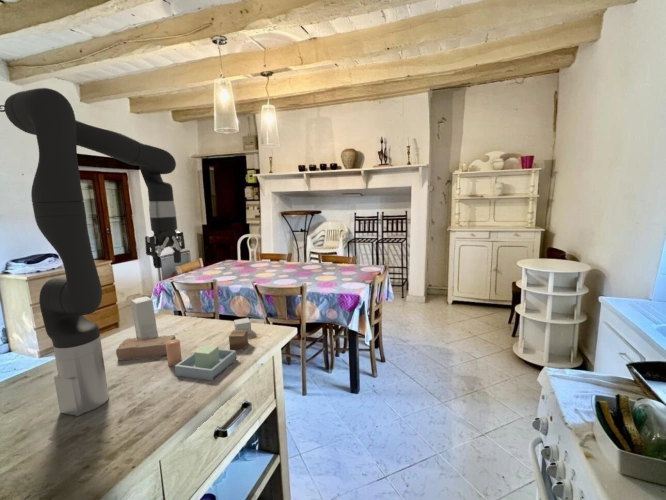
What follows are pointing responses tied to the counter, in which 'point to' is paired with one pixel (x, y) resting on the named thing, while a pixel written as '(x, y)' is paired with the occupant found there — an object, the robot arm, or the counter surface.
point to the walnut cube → (238, 339)
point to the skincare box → (144, 317)
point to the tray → (189, 369)
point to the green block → (206, 356)
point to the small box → (243, 324)
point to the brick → (143, 347)
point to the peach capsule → (173, 352)
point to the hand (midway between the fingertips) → (168, 265)
